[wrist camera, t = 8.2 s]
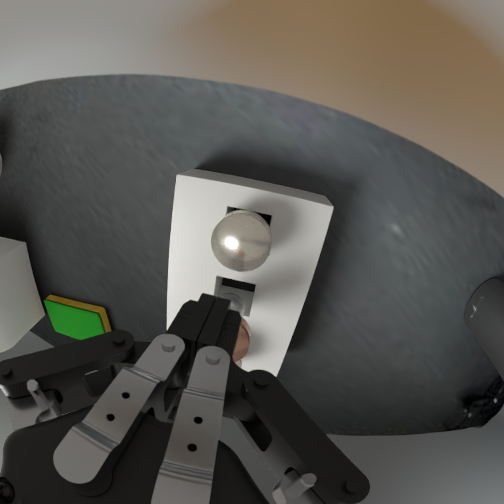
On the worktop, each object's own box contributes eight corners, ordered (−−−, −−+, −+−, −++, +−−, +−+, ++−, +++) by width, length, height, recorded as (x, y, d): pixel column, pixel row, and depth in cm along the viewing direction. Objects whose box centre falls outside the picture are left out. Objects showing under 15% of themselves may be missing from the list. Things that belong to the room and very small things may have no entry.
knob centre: (260, 290, 25) (254, 327, 20) (250, 329, 27) (243, 368, 22) (209, 278, 25) (191, 312, 20) (204, 318, 27) (188, 355, 22)
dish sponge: (50, 293, 38) (42, 299, 36) (105, 306, 37) (98, 314, 35) (61, 324, 41) (55, 331, 39) (116, 340, 40) (110, 349, 38)
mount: (325, 195, 27) (333, 207, 22) (276, 352, 36) (275, 379, 31) (194, 168, 27) (176, 174, 23) (179, 329, 36) (167, 353, 32)
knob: (278, 205, 25) (277, 222, 20) (267, 251, 27) (264, 277, 22) (228, 195, 26) (215, 209, 21) (221, 241, 27) (207, 264, 22)
